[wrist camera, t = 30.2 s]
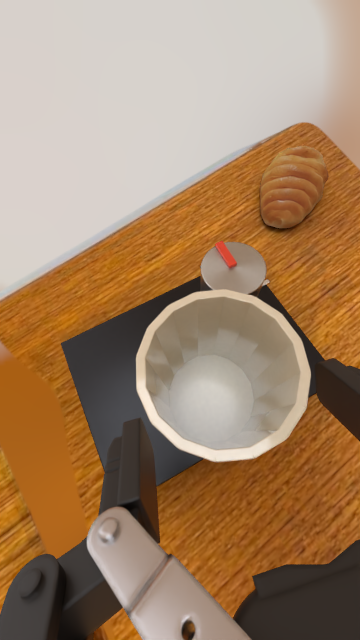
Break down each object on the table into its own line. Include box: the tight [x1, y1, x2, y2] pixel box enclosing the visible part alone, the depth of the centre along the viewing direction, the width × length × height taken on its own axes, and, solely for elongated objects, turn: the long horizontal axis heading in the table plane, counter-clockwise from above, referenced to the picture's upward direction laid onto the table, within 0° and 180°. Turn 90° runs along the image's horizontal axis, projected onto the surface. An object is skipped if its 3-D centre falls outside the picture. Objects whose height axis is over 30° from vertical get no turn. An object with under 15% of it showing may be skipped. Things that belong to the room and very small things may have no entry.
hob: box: [61, 266, 325, 487], centre depth 22 cm, size 18×14×3 cm
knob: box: [201, 241, 266, 297], centre depth 20 cm, size 4×4×6 cm
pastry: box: [260, 146, 328, 228], centre depth 28 cm, size 9×7×4 cm
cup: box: [136, 289, 311, 462], centre depth 15 cm, size 7×7×10 cm
